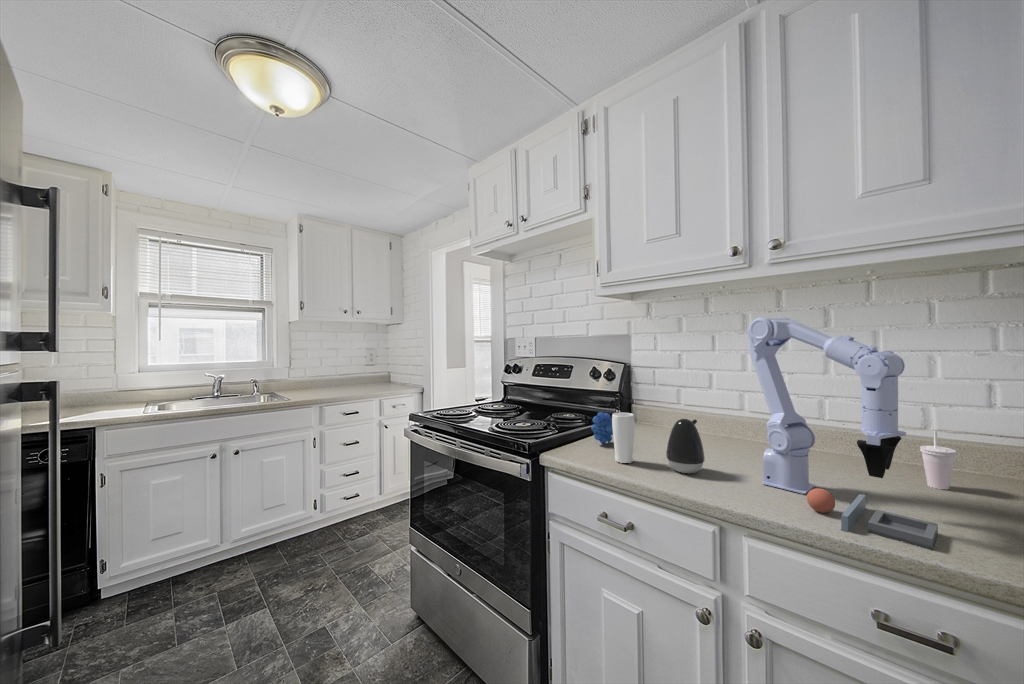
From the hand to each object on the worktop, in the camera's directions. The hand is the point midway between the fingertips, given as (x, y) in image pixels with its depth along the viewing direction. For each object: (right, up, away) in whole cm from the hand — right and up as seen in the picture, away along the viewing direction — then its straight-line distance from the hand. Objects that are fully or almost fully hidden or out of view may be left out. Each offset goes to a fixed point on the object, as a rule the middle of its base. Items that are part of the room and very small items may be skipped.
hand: (879, 472), depth 85 cm
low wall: (-6, -10, 0) cm, 11 cm away
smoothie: (+29, -9, +16) cm, 34 cm away
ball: (-10, -7, +3) cm, 13 cm away
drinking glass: (-43, -10, +41) cm, 60 cm away
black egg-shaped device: (-27, -10, +32) cm, 43 cm away
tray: (-2, -10, -7) cm, 12 cm away
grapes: (-44, -10, +61) cm, 76 cm away
